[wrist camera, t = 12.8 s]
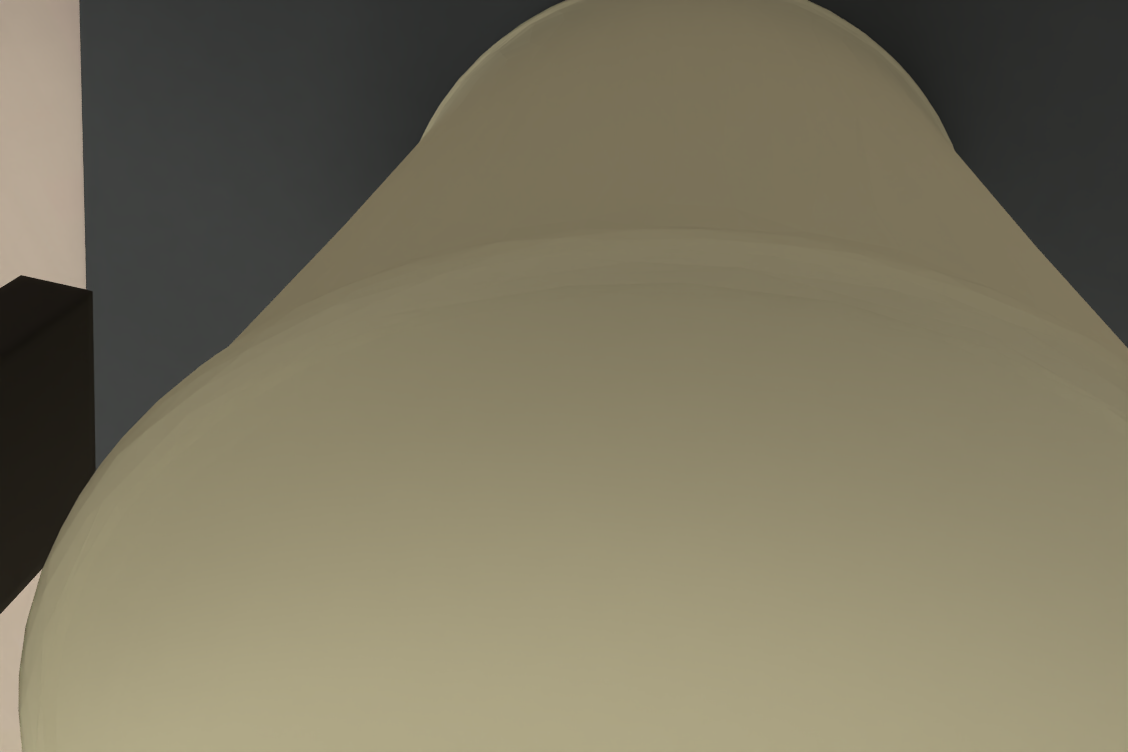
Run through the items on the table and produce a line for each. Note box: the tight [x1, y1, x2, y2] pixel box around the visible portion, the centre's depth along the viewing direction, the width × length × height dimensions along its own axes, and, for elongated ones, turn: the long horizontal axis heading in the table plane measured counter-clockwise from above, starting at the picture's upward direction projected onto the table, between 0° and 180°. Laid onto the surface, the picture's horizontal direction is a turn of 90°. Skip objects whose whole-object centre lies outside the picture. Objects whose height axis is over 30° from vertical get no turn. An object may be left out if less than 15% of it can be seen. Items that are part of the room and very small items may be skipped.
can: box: [19, 0, 1128, 752], centre depth 12 cm, size 9×9×12 cm
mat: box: [79, 0, 1128, 470], centre depth 18 cm, size 20×16×1 cm
